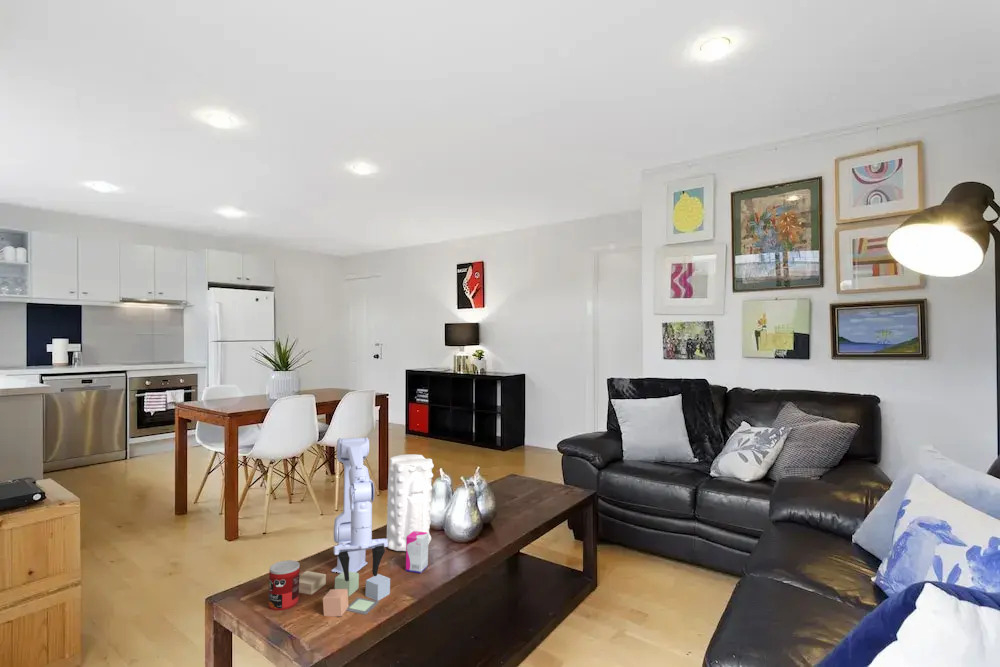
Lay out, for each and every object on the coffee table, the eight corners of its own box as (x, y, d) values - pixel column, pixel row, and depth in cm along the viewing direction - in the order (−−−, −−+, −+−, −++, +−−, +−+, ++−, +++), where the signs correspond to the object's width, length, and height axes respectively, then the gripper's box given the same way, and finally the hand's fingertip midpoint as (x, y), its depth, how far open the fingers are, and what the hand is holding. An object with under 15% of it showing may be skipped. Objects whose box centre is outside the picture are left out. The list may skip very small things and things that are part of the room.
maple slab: (306, 581, 159) (306, 570, 159) (325, 585, 157) (325, 574, 157) (291, 592, 152) (291, 580, 152) (311, 596, 150) (311, 584, 150)
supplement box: (428, 566, 171) (429, 532, 171) (421, 573, 165) (421, 538, 165) (412, 563, 173) (413, 530, 173) (404, 571, 167) (405, 536, 167)
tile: (357, 598, 149) (357, 596, 149) (379, 602, 147) (379, 601, 147) (343, 610, 142) (344, 608, 142) (365, 615, 140) (365, 613, 140)
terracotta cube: (331, 607, 144) (330, 589, 144) (348, 606, 143) (347, 588, 143) (324, 616, 139) (322, 598, 139) (341, 616, 138) (340, 597, 138)
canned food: (264, 604, 145) (265, 565, 145) (292, 594, 150) (293, 557, 150) (274, 615, 139) (275, 574, 139) (303, 604, 145) (304, 566, 145)
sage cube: (344, 586, 156) (344, 570, 156) (358, 589, 154) (358, 573, 154) (334, 594, 151) (334, 577, 151) (349, 597, 150) (349, 580, 150)
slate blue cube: (377, 590, 154) (378, 573, 154) (389, 595, 152) (390, 578, 152) (365, 597, 150) (365, 580, 150) (377, 602, 147) (378, 585, 147)
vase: (420, 532, 200) (422, 451, 200) (438, 547, 186) (440, 460, 187) (378, 540, 191) (381, 456, 191) (394, 557, 177) (396, 465, 178)
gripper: (337, 532, 135) (336, 586, 133) (390, 525, 142) (390, 576, 140) (332, 527, 141) (331, 579, 139) (383, 520, 148) (383, 569, 146)
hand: (360, 577), depth 140 cm, fingers open, 7 cm apart
